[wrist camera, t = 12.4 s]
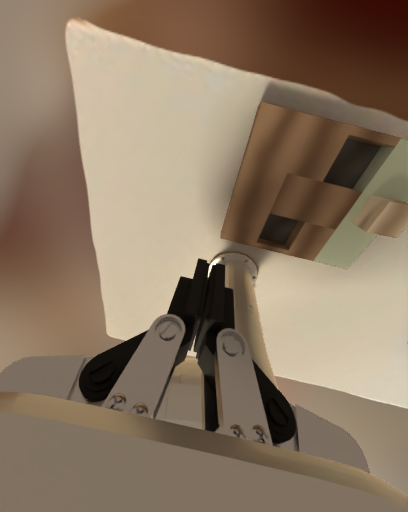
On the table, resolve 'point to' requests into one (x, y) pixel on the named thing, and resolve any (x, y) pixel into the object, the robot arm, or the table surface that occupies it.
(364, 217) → the maple block
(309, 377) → the table surface
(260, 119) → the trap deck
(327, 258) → the pad
